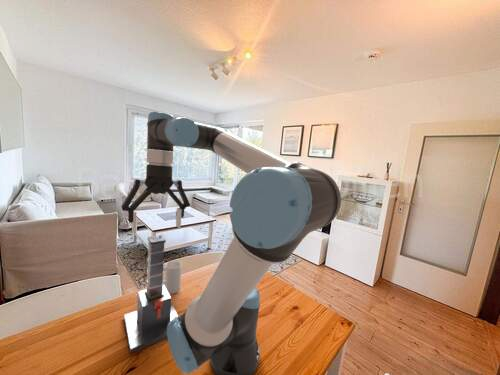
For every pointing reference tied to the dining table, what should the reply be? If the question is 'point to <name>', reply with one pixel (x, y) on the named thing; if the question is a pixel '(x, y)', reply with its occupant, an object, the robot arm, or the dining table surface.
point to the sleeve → (149, 320)
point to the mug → (172, 276)
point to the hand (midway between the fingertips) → (157, 229)
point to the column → (155, 267)
